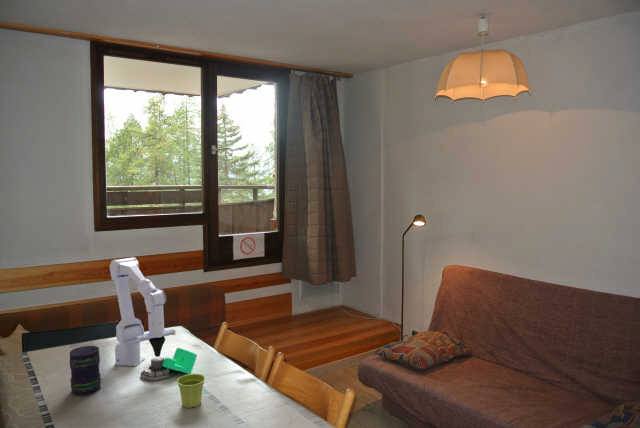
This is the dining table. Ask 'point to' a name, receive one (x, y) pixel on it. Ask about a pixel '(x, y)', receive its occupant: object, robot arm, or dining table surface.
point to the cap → (157, 363)
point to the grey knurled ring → (156, 373)
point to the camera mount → (181, 361)
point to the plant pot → (191, 389)
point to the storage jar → (85, 370)
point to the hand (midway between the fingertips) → (157, 355)
